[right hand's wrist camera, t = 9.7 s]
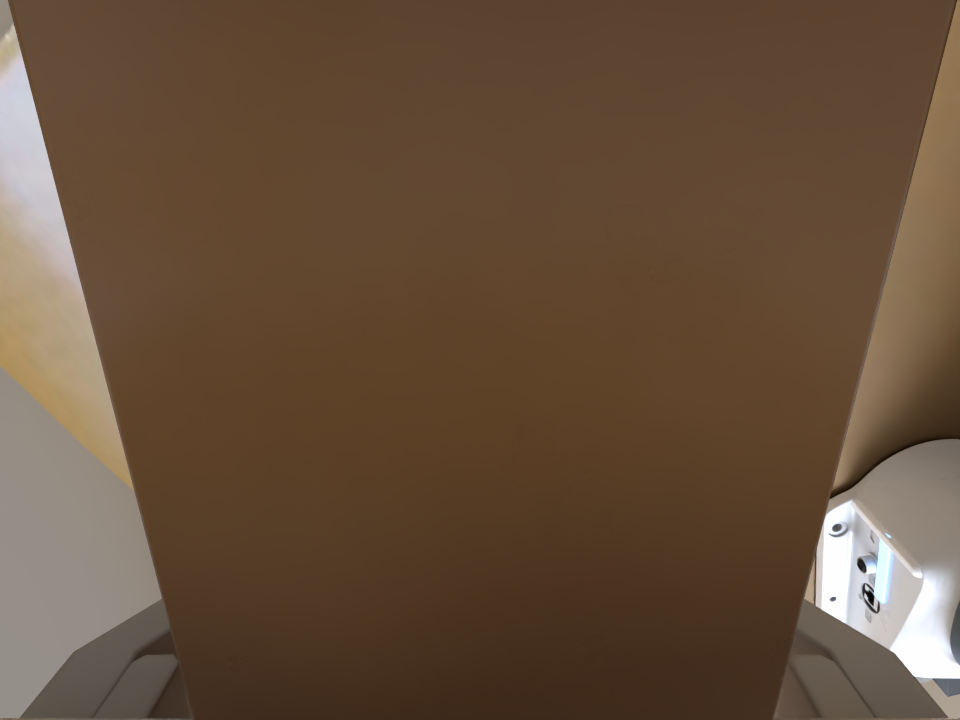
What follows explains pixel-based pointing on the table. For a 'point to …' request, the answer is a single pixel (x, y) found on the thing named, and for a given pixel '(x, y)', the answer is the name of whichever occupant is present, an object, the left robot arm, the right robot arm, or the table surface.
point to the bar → (482, 330)
